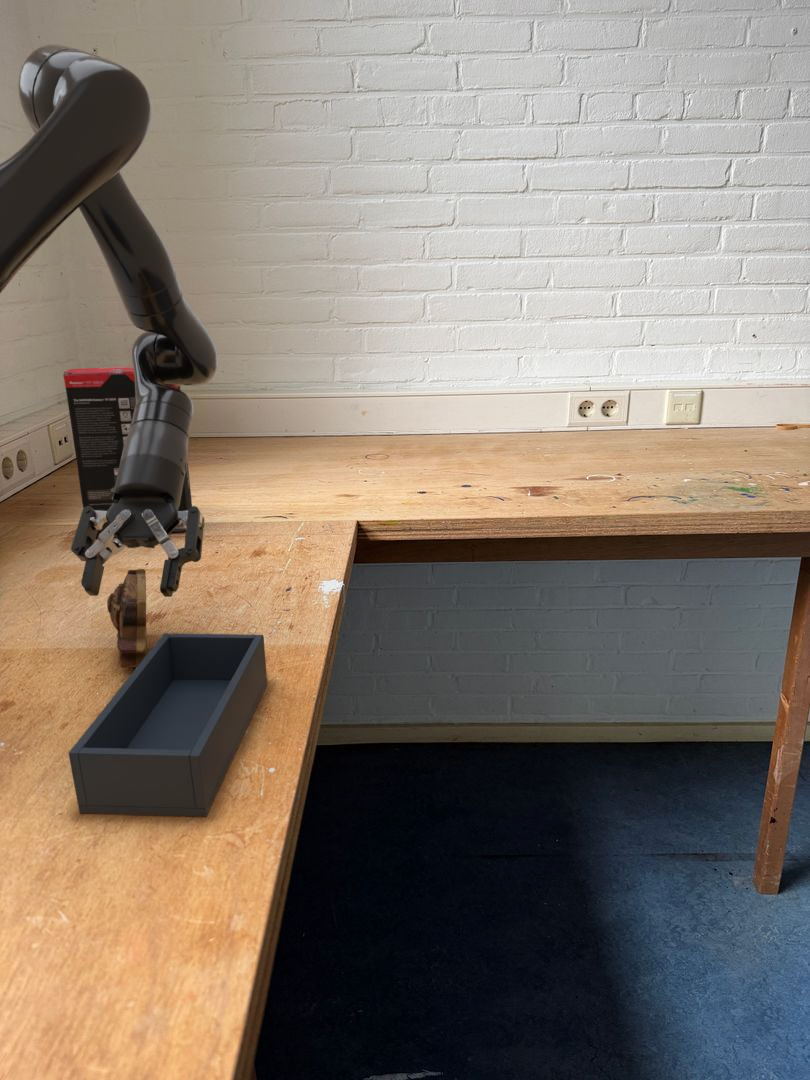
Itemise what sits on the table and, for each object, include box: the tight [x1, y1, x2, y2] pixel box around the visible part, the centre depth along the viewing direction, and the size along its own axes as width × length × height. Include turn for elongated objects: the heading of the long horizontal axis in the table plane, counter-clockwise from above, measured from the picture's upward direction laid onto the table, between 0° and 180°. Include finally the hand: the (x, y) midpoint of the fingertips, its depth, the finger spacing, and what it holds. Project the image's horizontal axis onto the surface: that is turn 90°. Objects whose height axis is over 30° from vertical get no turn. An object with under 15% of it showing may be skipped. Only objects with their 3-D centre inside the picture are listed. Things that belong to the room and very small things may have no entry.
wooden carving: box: [106, 568, 148, 669], centre depth 89 cm, size 16×5×10 cm, turn 22°
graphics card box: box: [62, 366, 193, 537], centre depth 131 cm, size 17×7×27 cm, turn 100°
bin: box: [68, 633, 268, 818], centre depth 74 cm, size 11×22×6 cm, turn 176°
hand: (128, 593), depth 88 cm, fingers open, 8 cm apart
